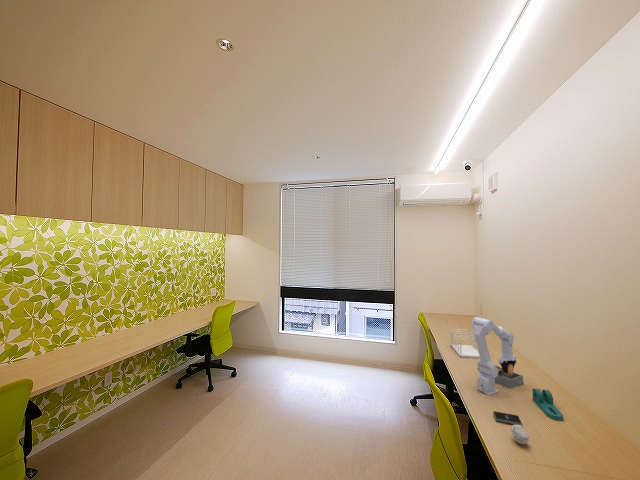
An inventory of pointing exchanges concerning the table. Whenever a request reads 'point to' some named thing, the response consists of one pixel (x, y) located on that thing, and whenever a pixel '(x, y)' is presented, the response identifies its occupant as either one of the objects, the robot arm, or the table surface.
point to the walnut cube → (499, 372)
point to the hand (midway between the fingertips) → (508, 371)
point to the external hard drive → (507, 418)
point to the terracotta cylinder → (509, 371)
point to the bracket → (546, 404)
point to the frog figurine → (519, 434)
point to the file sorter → (464, 346)
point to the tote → (509, 380)
